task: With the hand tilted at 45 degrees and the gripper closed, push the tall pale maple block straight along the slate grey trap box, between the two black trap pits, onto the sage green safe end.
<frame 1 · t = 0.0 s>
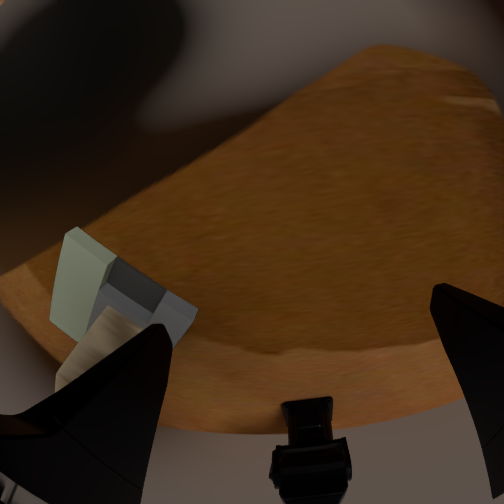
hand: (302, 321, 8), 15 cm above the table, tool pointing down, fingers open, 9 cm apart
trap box: (114, 311, 27), on the table
maple block: (129, 337, 26), point 2 cm above the table, touching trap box
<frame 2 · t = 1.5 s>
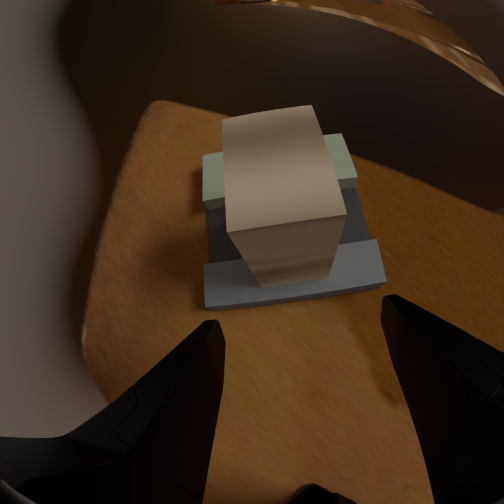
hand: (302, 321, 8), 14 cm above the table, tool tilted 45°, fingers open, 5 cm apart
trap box: (285, 217, 24), on the table
maple block: (288, 239, 22), point 2 cm above the table, touching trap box
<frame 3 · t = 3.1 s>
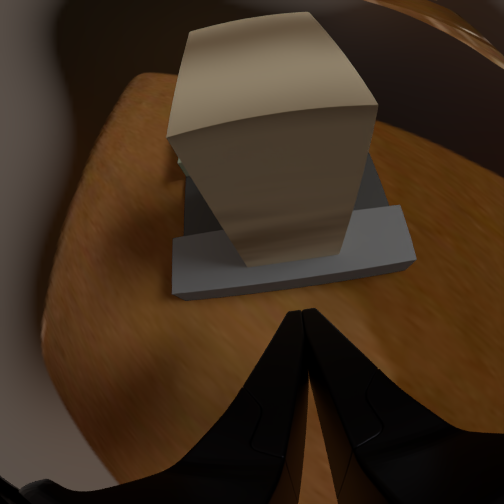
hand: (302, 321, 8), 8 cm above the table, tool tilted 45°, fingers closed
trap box: (281, 182, 19), on the table
maple block: (284, 204, 16), point 2 cm above the table, touching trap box
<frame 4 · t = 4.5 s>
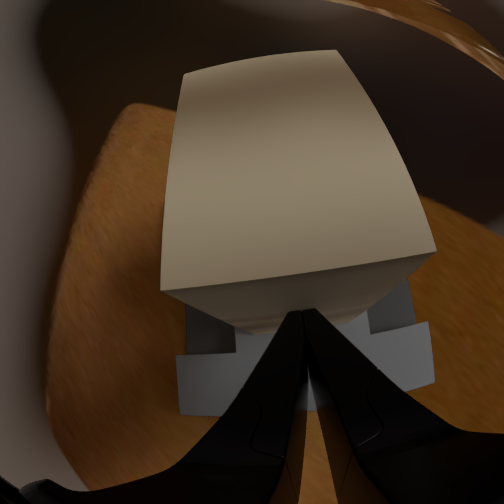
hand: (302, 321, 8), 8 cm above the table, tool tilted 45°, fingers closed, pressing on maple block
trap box: (295, 281, 17), on the table
maple block: (294, 265, 15), point 2 cm above the table, touching gripper
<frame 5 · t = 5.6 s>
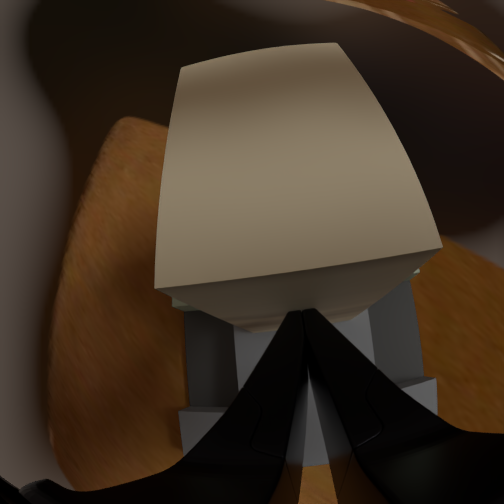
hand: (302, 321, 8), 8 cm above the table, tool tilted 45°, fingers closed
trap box: (302, 333, 15), on the table
maple block: (294, 262, 15), point 2 cm above the table, touching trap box
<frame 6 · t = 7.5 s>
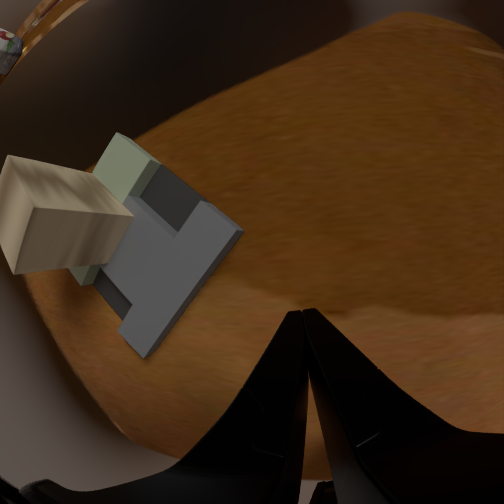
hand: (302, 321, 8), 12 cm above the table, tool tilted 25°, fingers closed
juice carton: (15, 57, 34), on the table
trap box: (135, 241, 23), on the table
maple block: (99, 216, 22), point 2 cm above the table, touching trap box
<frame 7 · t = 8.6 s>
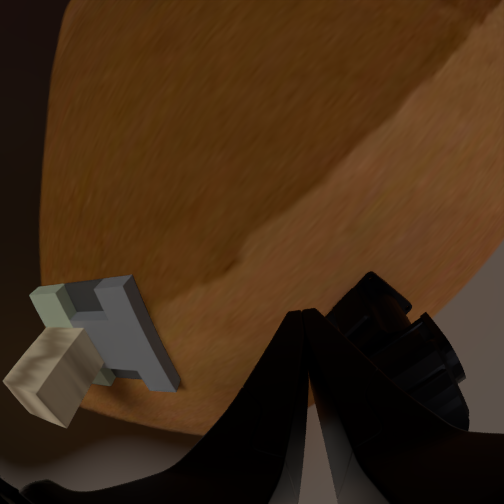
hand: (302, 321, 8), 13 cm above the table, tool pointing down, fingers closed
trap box: (103, 335, 27), on the table
maple block: (74, 344, 26), point 2 cm above the table, touching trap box
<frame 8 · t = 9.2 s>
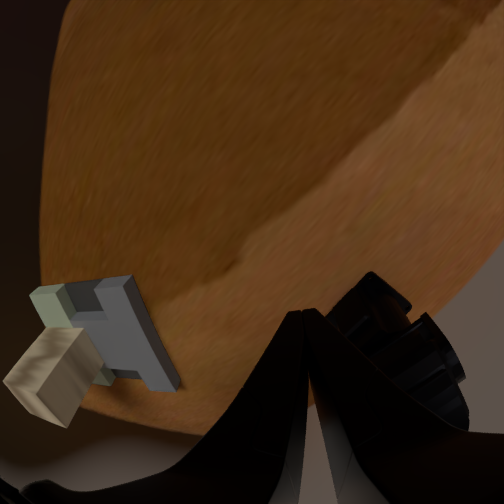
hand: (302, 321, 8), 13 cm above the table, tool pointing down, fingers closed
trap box: (103, 335, 27), on the table
maple block: (74, 344, 26), point 2 cm above the table, touching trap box
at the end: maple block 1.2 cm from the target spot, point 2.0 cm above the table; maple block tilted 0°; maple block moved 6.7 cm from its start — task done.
